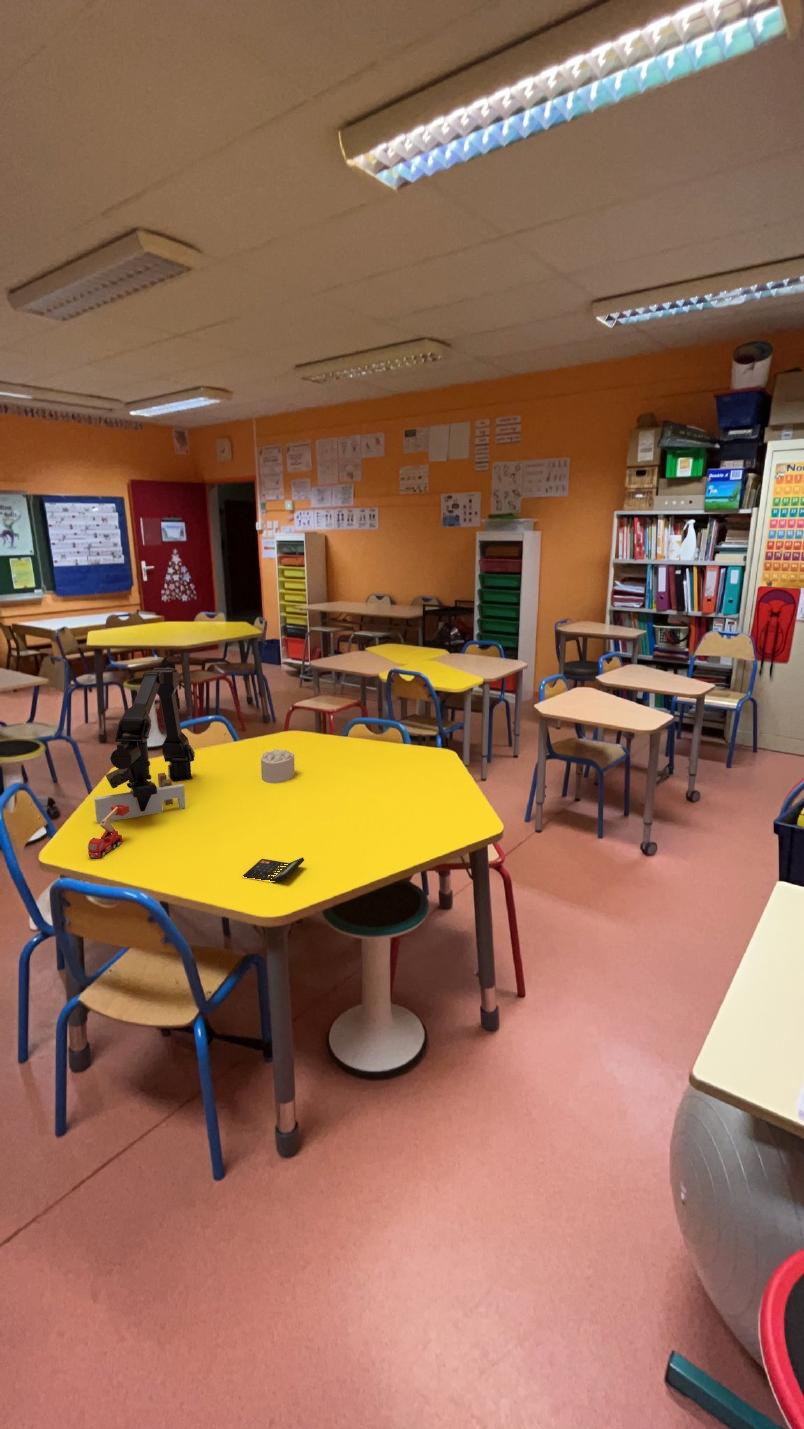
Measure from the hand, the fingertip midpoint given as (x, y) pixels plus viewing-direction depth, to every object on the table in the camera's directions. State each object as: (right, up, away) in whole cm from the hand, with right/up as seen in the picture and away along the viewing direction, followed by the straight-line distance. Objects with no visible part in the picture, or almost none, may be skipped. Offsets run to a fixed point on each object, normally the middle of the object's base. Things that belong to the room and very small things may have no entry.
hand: (141, 809), depth 188 cm
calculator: (+45, -11, -32) cm, 56 cm away
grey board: (0, -1, 0) cm, 2 cm away
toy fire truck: (0, -7, -21) cm, 22 cm away
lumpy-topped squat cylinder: (+33, +6, +34) cm, 48 cm away
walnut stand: (+3, +1, +12) cm, 12 cm away
